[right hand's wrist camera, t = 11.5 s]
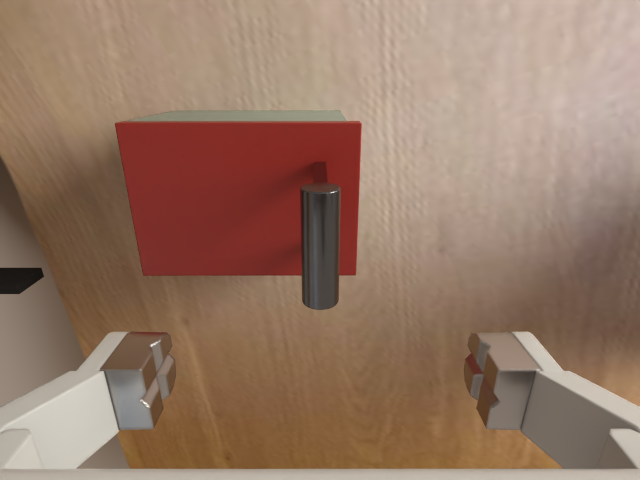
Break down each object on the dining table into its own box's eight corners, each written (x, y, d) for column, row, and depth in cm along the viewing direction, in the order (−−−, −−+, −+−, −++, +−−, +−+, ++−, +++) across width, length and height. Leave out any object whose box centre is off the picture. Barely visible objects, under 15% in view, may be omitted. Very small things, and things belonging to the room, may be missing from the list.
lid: (359, 120, 23) (381, 141, 15) (354, 267, 27) (369, 346, 19) (123, 121, 23) (22, 141, 15) (150, 268, 26) (78, 347, 19)
